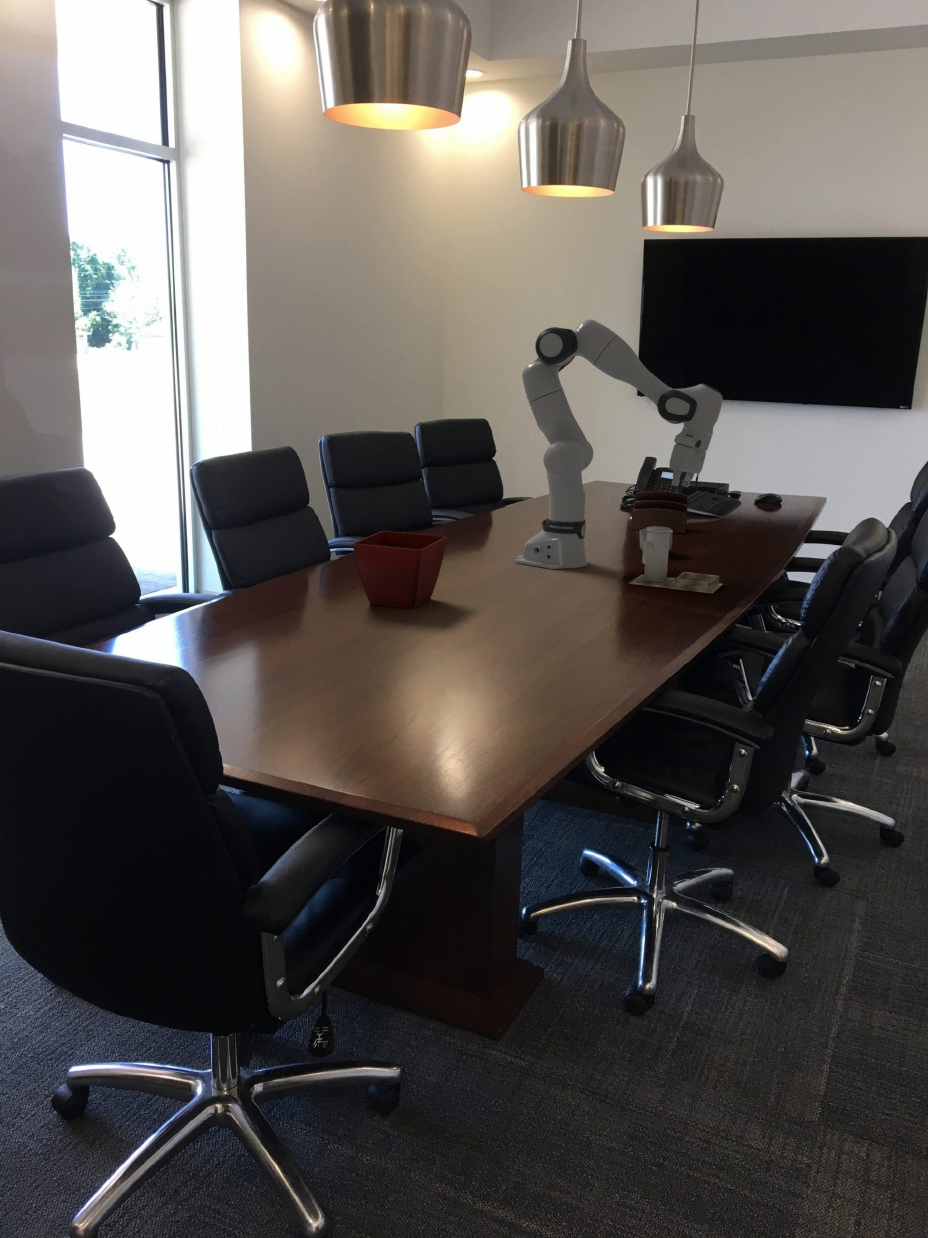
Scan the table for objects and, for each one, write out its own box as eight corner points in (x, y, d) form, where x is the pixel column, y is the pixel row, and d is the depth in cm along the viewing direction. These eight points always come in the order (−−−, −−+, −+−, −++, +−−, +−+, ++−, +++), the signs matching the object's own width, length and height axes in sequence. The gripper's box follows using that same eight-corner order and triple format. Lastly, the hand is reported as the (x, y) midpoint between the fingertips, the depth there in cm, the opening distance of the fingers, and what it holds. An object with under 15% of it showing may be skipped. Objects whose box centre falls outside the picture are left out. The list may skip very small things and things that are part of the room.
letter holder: (633, 526, 384) (635, 489, 381) (686, 529, 379) (688, 492, 376) (630, 530, 375) (632, 493, 371) (684, 534, 370) (687, 495, 366)
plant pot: (419, 614, 254) (420, 549, 249) (352, 606, 260) (351, 542, 256) (447, 597, 271) (447, 536, 267) (382, 590, 277) (382, 530, 273)
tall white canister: (651, 576, 293) (655, 525, 289) (671, 580, 289) (675, 528, 285) (632, 581, 286) (636, 529, 283) (653, 584, 282) (656, 532, 278)
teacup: (671, 558, 327) (672, 533, 324) (637, 556, 329) (638, 532, 326) (671, 549, 340) (673, 526, 338) (639, 548, 342) (640, 524, 340)
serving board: (627, 587, 286) (628, 574, 285) (641, 578, 297) (641, 566, 296) (712, 597, 276) (713, 584, 275) (722, 587, 287) (723, 575, 286)
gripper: (695, 440, 306) (681, 484, 309) (673, 435, 289) (658, 481, 292) (714, 446, 303) (700, 490, 307) (693, 441, 286) (678, 488, 289)
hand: (679, 486), depth 299 cm, fingers open, 8 cm apart
